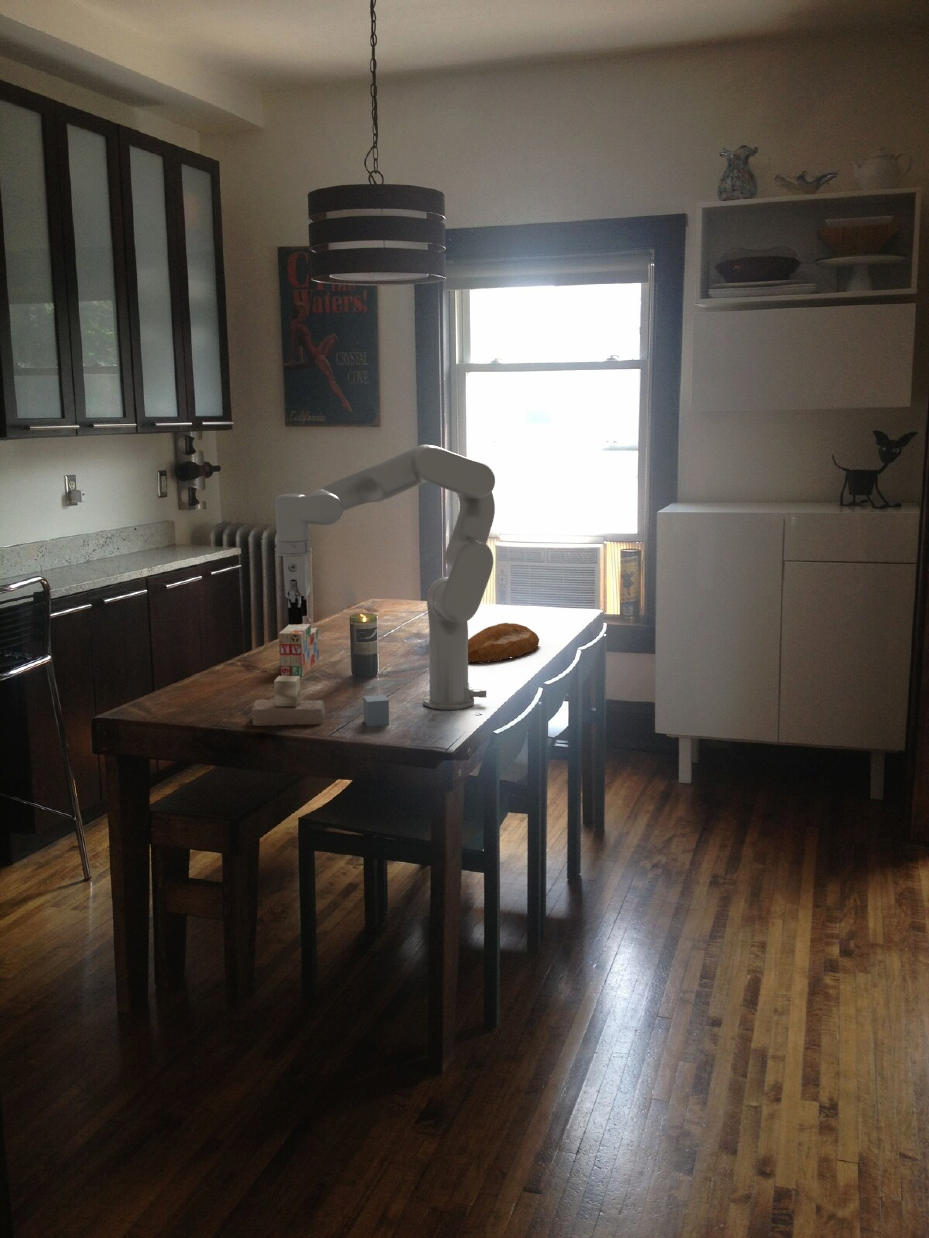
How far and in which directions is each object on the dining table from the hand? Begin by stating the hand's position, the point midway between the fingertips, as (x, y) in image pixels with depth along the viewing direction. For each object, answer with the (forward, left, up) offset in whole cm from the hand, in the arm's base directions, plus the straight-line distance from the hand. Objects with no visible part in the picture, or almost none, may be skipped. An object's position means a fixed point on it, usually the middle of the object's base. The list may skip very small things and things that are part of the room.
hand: (298, 620), depth 258 cm
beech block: (+3, +3, -19) cm, 20 cm away
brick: (+2, +3, -24) cm, 24 cm away
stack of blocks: (+6, -49, -24) cm, 55 cm away
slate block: (-18, +6, -23) cm, 30 cm away
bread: (-51, -66, -24) cm, 86 cm away
